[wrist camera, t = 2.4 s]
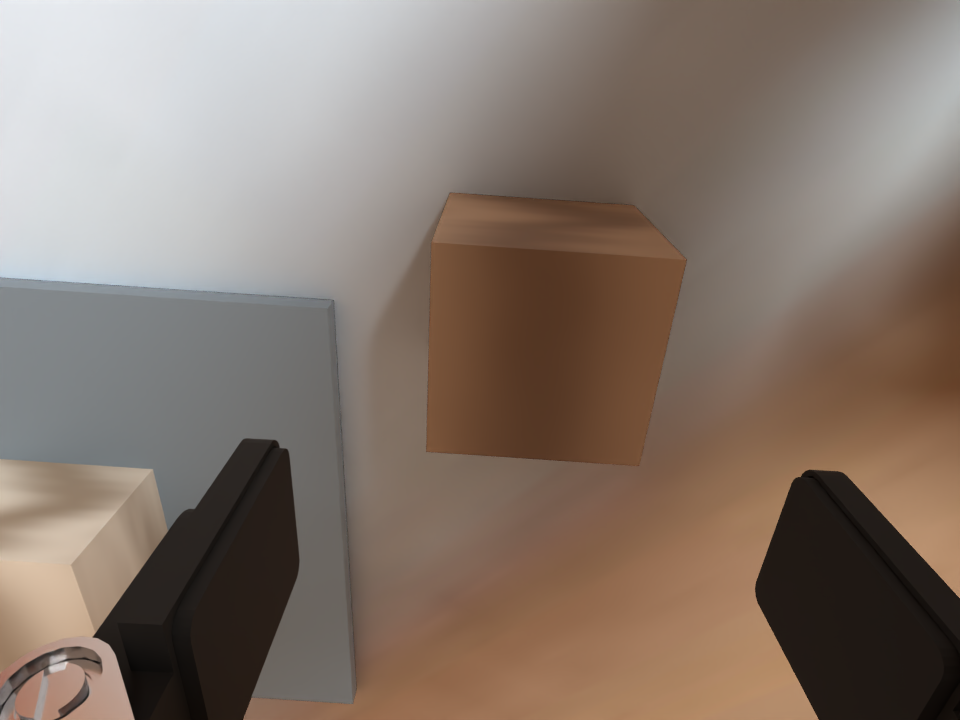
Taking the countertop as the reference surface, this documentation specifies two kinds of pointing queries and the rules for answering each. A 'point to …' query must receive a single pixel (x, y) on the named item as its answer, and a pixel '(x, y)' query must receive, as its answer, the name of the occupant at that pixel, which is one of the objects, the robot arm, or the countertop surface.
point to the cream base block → (69, 547)
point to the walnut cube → (547, 328)
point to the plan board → (195, 424)
